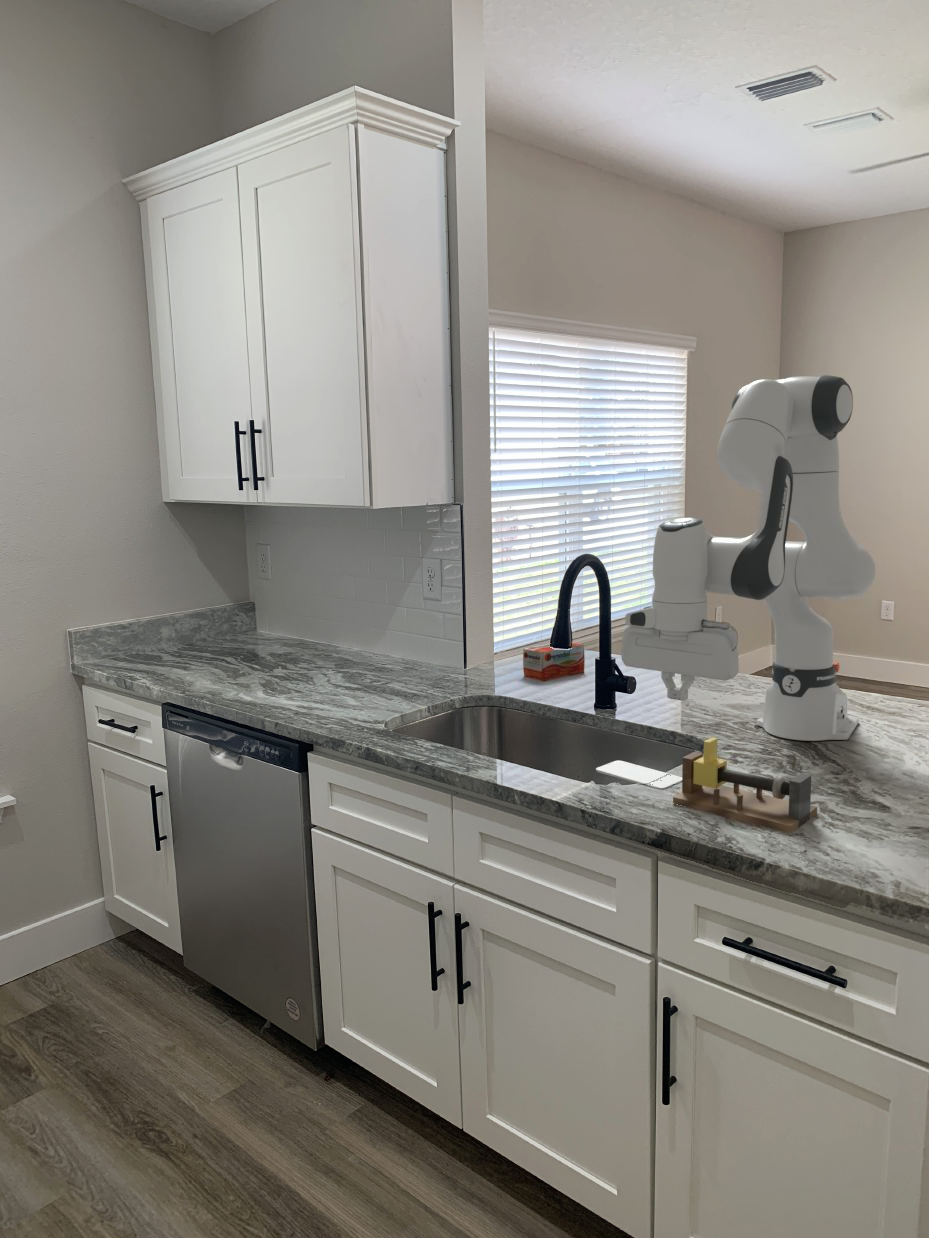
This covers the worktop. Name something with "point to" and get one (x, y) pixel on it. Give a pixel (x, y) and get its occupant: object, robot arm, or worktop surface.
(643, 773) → the smartphone
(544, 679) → the medicine box
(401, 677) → the worktop surface
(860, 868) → the worktop surface
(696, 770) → the sleeve
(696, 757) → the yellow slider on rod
